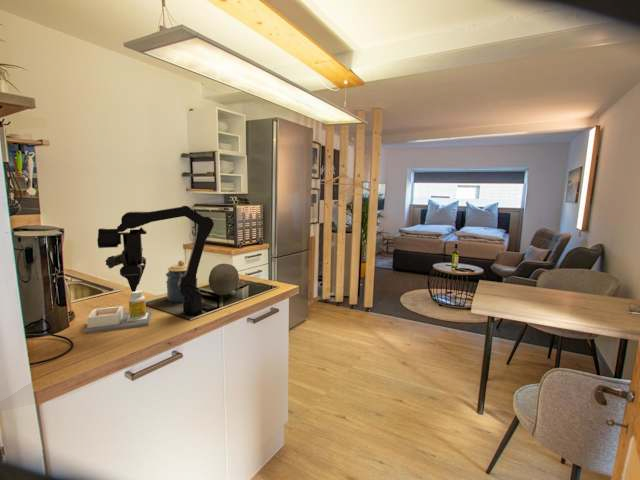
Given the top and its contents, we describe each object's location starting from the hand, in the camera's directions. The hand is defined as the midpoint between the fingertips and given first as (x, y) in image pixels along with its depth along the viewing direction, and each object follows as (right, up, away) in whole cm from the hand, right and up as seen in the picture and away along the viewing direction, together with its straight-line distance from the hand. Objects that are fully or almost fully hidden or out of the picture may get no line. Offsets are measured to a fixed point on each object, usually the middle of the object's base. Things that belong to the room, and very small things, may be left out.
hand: (135, 288), depth 119 cm
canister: (+6, -9, +27) cm, 29 cm away
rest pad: (0, -12, +2) cm, 12 cm away
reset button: (-9, -12, -2) cm, 15 cm away
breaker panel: (-5, -13, 0) cm, 14 cm away
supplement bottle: (0, -11, +2) cm, 11 cm away
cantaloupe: (+23, -8, +33) cm, 41 cm away
